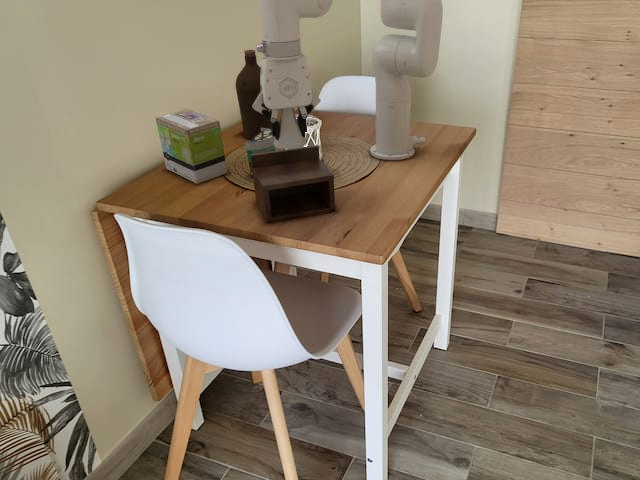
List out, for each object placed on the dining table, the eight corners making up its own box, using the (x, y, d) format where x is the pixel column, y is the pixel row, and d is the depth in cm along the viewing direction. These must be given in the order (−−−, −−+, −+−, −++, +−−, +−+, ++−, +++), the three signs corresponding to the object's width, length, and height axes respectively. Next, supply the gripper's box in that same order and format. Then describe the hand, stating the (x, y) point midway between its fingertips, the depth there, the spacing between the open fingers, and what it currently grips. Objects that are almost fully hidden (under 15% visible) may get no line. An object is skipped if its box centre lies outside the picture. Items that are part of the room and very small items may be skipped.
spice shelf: (320, 191, 141) (317, 144, 134) (335, 211, 131) (333, 162, 125) (256, 202, 136) (250, 154, 130) (266, 223, 126) (261, 172, 120)
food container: (271, 181, 147) (267, 143, 141) (249, 179, 148) (244, 142, 143) (286, 163, 157) (283, 128, 152) (265, 162, 158) (261, 127, 153)
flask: (274, 140, 128) (270, 94, 123) (306, 138, 128) (303, 93, 123) (273, 151, 122) (268, 104, 116) (306, 149, 122) (303, 102, 117)
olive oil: (276, 139, 174) (268, 53, 161) (241, 141, 173) (230, 55, 160) (275, 128, 183) (267, 46, 170) (242, 130, 182) (231, 48, 169)
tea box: (165, 170, 154) (153, 116, 146) (197, 160, 160) (187, 107, 153) (196, 185, 145) (186, 128, 138) (228, 173, 152) (220, 118, 144)
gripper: (243, 56, 109) (254, 147, 119) (328, 48, 114) (332, 137, 124) (236, 49, 115) (247, 137, 125) (317, 42, 120) (321, 127, 130)
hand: (289, 136), depth 124 cm, fingers closed on flask, 4 cm apart
